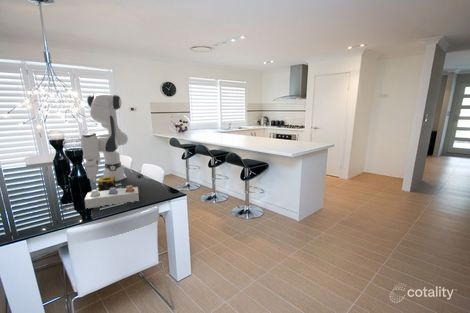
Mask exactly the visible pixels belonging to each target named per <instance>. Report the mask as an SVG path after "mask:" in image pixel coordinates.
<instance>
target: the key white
mask: <svg viewBox="0 0 470 313" xmlns="http://www.w3.org/2000/svg"><path fill="white" fill-rule="evenodd" d="M90 192H91V194H92V197H93V196H99V190H98V189H92V190H91V191H90Z"/></svg>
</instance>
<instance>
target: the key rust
mask: <svg viewBox="0 0 470 313" xmlns="http://www.w3.org/2000/svg"><path fill="white" fill-rule="evenodd" d="M133 187H134V186H133V185H132V184H129V185H126V186H125V188H126V189H127V192H133Z"/></svg>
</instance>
